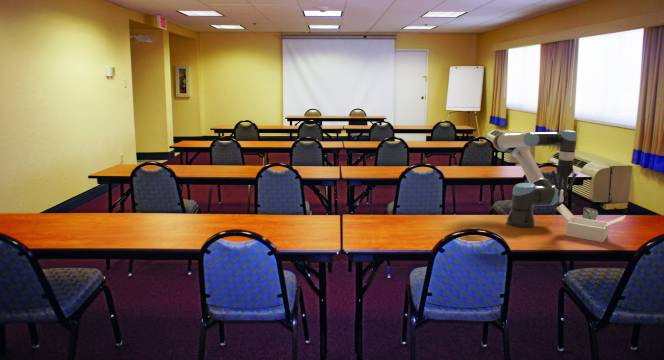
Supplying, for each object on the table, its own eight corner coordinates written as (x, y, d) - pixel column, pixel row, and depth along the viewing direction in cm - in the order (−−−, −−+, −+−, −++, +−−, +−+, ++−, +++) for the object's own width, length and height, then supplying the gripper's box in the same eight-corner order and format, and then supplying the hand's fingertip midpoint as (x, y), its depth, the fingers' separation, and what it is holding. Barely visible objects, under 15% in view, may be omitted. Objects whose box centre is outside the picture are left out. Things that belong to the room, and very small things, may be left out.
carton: (565, 235, 273) (567, 222, 272) (571, 229, 285) (573, 216, 284) (602, 242, 263) (604, 228, 261) (607, 236, 275) (609, 222, 273)
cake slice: (599, 230, 285) (601, 213, 283) (587, 229, 286) (589, 212, 284) (592, 224, 296) (594, 208, 294) (581, 223, 298) (583, 207, 296)
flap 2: (621, 220, 257) (622, 220, 257) (625, 215, 267) (626, 215, 267) (604, 226, 262) (605, 227, 262) (608, 221, 272) (609, 222, 272)
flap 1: (562, 203, 285) (561, 204, 285) (556, 207, 275) (556, 208, 276) (573, 215, 283) (573, 216, 283) (568, 220, 273) (567, 221, 273)
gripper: (551, 158, 276) (546, 201, 281) (577, 161, 268) (572, 205, 273) (555, 157, 282) (550, 198, 286) (580, 159, 274) (575, 202, 279)
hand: (561, 201), depth 280 cm, fingers closed
